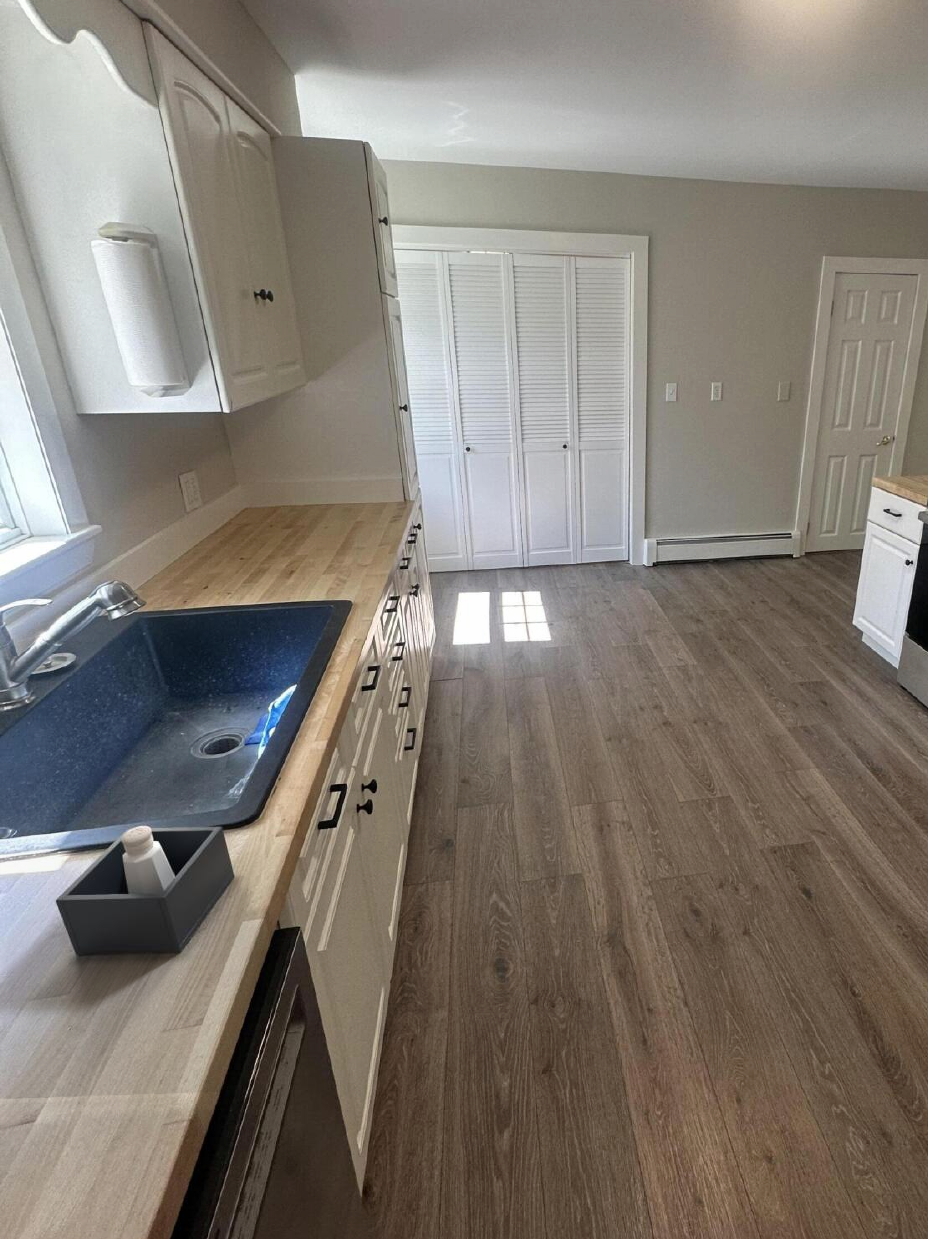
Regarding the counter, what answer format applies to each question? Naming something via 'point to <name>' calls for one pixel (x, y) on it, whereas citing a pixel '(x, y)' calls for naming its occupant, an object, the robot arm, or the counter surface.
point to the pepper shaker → (145, 863)
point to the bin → (147, 896)
